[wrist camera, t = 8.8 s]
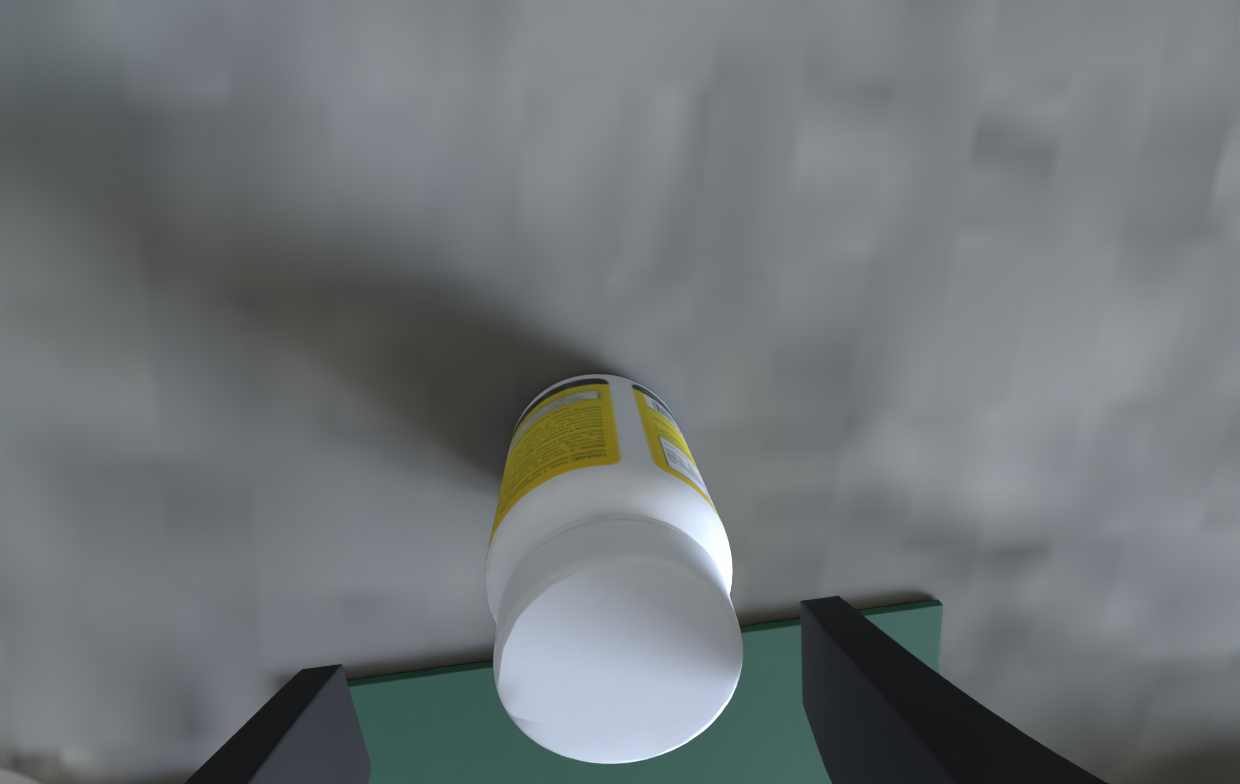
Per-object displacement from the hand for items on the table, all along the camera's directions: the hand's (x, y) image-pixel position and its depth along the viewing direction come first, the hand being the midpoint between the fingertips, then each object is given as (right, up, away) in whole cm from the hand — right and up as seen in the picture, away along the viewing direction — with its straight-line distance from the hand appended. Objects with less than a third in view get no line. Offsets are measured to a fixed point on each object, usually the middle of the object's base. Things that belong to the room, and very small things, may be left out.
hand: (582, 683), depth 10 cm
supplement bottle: (0, +3, +8) cm, 9 cm away
